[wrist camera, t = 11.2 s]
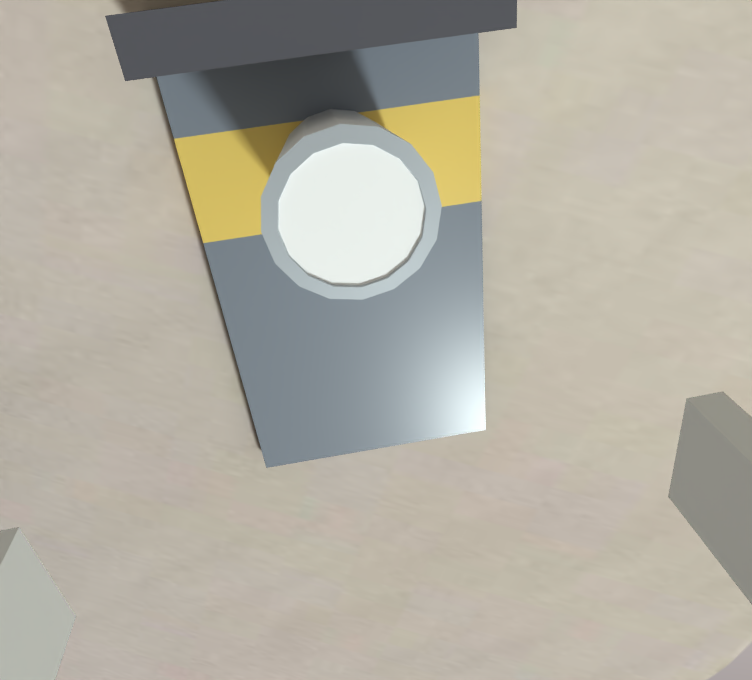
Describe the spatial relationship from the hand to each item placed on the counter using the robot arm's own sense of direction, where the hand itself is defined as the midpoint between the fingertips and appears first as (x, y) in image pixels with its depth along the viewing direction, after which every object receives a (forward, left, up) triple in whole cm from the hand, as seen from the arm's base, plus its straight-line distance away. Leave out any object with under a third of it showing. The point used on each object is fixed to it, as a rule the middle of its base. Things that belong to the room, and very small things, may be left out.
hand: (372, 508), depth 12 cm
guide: (+1, -3, -21) cm, 21 cm away
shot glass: (+1, +2, -20) cm, 20 cm away
